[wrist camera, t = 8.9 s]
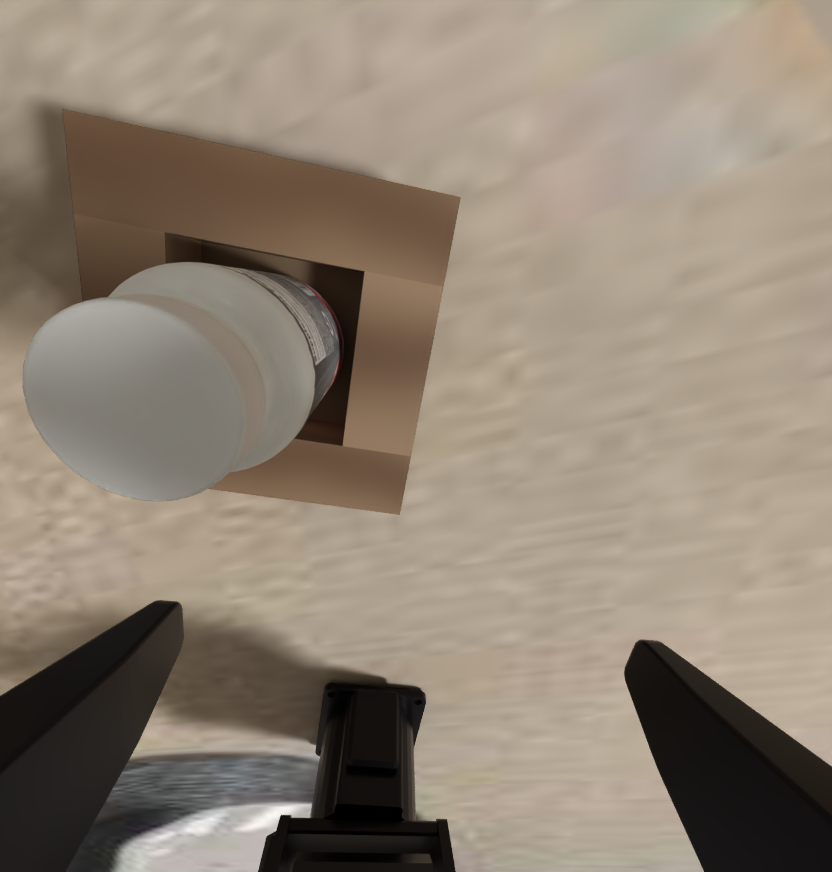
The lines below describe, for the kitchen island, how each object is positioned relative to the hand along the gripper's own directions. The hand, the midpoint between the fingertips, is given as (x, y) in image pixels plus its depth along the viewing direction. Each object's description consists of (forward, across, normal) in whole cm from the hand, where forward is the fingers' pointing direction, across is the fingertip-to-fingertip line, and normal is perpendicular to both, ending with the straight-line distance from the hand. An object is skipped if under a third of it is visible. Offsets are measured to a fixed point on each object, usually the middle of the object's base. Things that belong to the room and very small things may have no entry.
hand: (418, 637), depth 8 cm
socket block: (+12, +6, -4) cm, 14 cm away
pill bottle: (+11, +6, -4) cm, 13 cm away
